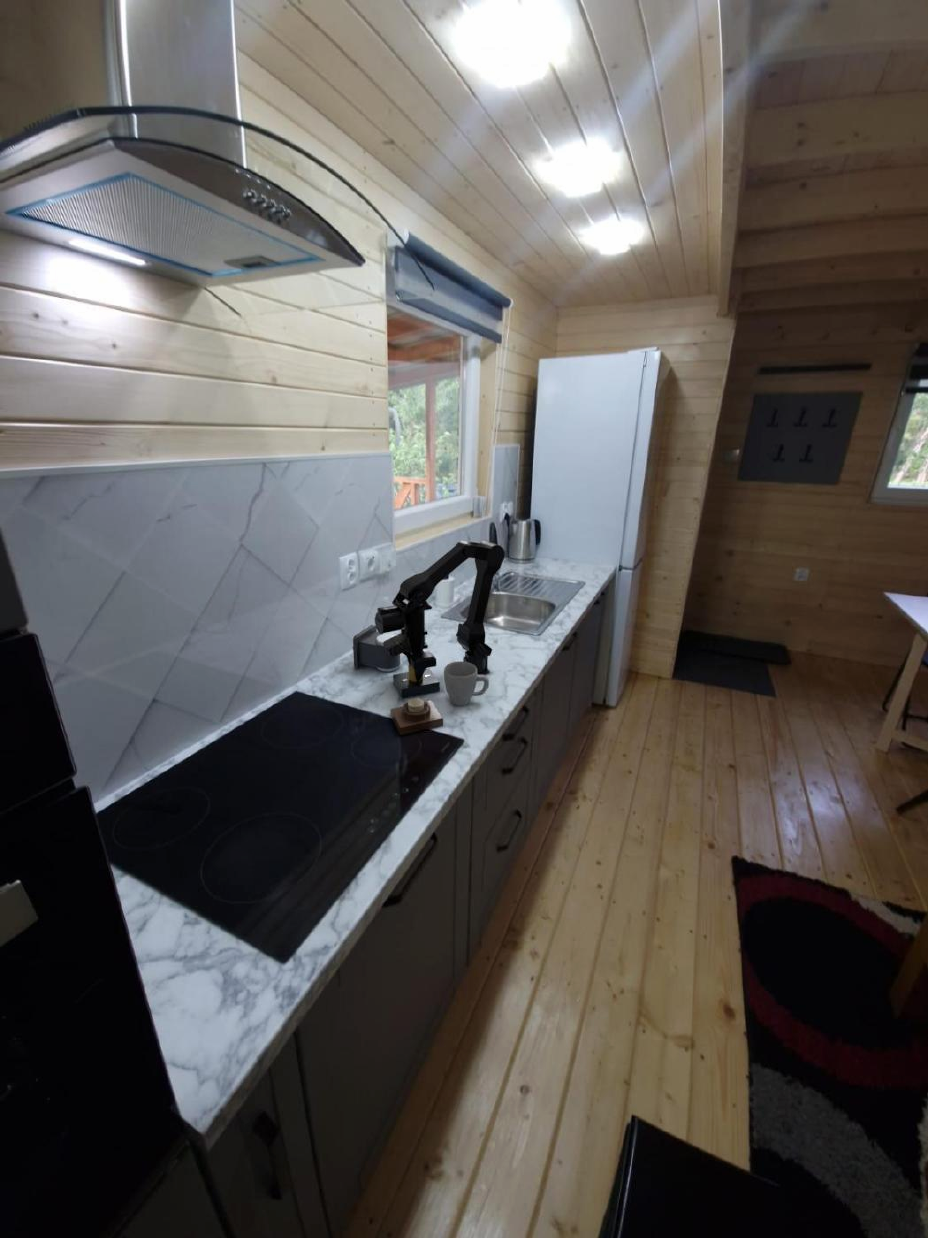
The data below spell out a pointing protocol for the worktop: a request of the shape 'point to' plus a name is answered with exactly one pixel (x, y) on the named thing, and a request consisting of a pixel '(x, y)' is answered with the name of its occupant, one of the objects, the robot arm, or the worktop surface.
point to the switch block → (416, 718)
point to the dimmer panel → (416, 684)
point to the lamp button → (416, 705)
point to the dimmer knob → (412, 673)
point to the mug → (463, 682)
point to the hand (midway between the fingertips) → (415, 676)
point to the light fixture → (373, 650)
